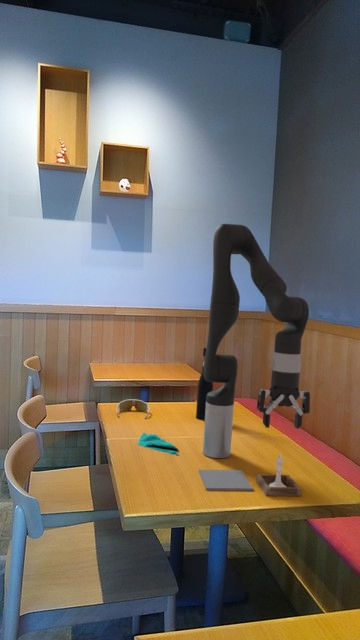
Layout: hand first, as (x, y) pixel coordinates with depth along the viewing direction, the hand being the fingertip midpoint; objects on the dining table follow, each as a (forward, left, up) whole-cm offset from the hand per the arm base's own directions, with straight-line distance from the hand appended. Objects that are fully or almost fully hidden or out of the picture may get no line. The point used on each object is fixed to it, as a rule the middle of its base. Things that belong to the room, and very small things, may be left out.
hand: (281, 427), depth 128 cm
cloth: (-36, -31, -18) cm, 51 cm away
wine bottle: (-71, -9, -18) cm, 74 cm away
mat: (-5, -14, -17) cm, 23 cm away
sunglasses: (-75, -39, -18) cm, 86 cm away
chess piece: (0, 0, -18) cm, 18 cm away
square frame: (0, 0, -17) cm, 17 cm away
